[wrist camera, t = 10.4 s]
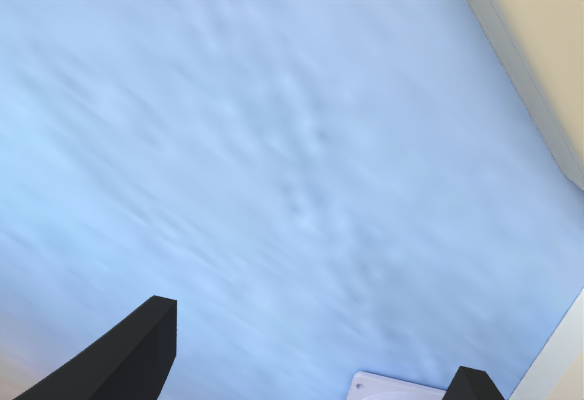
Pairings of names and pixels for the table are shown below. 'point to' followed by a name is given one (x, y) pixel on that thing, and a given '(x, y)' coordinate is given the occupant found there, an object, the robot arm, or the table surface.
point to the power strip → (558, 362)
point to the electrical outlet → (544, 68)
